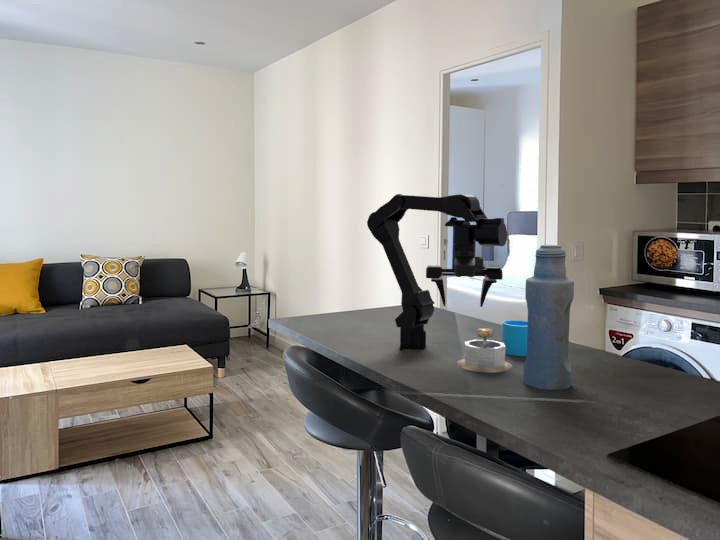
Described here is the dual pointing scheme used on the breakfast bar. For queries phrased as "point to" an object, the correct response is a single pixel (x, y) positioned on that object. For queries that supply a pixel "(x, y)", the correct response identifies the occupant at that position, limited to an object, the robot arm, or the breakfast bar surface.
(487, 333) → the plunger
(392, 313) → the breakfast bar surface
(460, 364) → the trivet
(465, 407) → the breakfast bar surface
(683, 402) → the breakfast bar surface
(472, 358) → the grey piece
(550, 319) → the bottle
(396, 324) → the robot arm
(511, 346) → the mug
